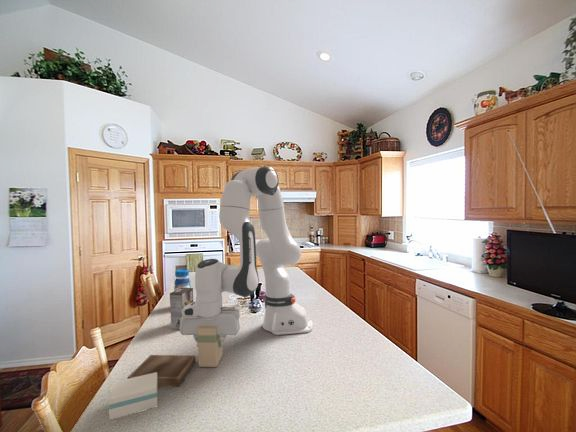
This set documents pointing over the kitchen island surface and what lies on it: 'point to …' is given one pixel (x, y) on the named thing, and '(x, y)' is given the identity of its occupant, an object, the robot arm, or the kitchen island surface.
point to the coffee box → (179, 304)
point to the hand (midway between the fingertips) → (210, 346)
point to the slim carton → (209, 346)
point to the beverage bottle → (182, 279)
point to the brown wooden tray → (166, 368)
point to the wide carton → (133, 395)
